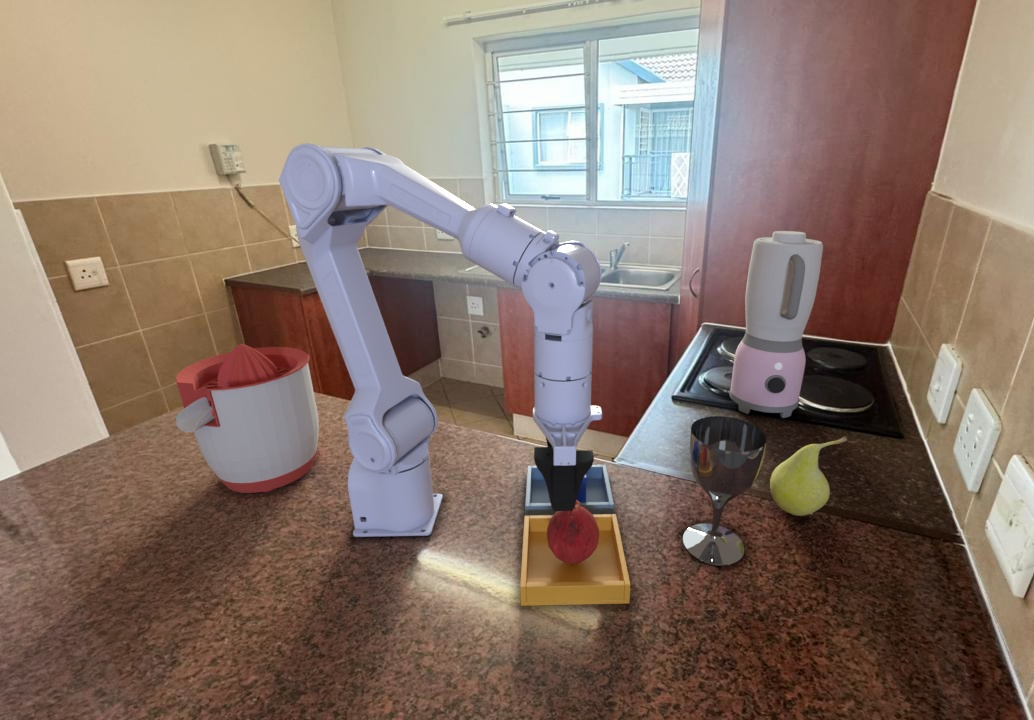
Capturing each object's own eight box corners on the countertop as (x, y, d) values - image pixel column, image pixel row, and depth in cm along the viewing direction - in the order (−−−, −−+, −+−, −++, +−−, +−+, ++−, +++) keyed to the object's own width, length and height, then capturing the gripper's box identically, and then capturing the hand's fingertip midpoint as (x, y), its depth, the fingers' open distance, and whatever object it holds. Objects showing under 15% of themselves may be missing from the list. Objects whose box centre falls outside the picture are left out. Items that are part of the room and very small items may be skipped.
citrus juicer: (169, 496, 68) (123, 359, 61) (278, 437, 84) (252, 322, 76) (249, 524, 63) (210, 378, 56) (351, 456, 78) (330, 334, 71)
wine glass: (748, 529, 62) (765, 422, 57) (748, 575, 55) (768, 457, 50) (682, 516, 65) (693, 411, 59) (675, 558, 57) (687, 444, 52)
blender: (724, 388, 102) (745, 228, 91) (787, 393, 100) (816, 229, 89) (737, 425, 88) (763, 238, 76) (810, 430, 86) (849, 240, 74)
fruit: (770, 488, 70) (784, 411, 66) (830, 505, 67) (848, 425, 62) (762, 514, 65) (776, 433, 61) (826, 534, 61) (846, 449, 57)
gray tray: (525, 522, 63) (525, 506, 62) (527, 480, 72) (527, 465, 71) (613, 521, 64) (614, 504, 63) (605, 479, 72) (606, 464, 71)
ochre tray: (520, 606, 51) (519, 587, 50) (524, 532, 62) (524, 515, 61) (629, 603, 51) (630, 584, 51) (615, 530, 62) (616, 513, 61)
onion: (594, 584, 53) (596, 523, 50) (541, 576, 54) (540, 515, 51) (601, 546, 59) (603, 489, 56) (553, 539, 60) (552, 483, 57)
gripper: (612, 401, 43) (606, 531, 47) (596, 345, 56) (593, 450, 61) (529, 402, 42) (531, 532, 47) (533, 346, 56) (535, 451, 61)
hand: (561, 486), depth 54 cm, fingers open, 7 cm apart
